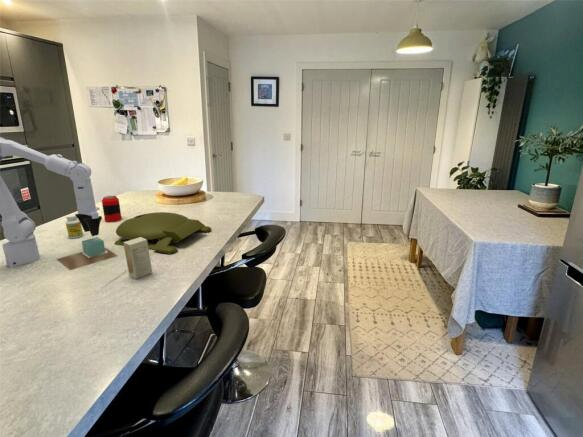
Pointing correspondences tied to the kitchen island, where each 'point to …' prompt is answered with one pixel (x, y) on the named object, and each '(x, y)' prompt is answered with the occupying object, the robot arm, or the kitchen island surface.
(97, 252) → the knob
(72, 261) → the board
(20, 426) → the kitchen island surface
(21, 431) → the kitchen island surface
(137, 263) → the skincare box
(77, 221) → the supplement bottle
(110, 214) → the soda can
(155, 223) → the green turtle
